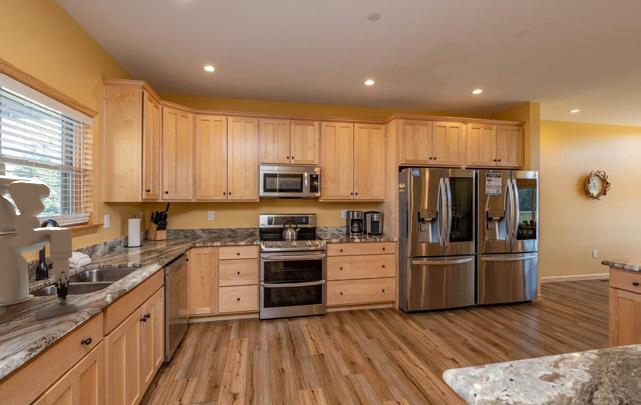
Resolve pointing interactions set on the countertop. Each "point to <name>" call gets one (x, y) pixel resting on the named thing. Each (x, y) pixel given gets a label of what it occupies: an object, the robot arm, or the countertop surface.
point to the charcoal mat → (55, 312)
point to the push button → (62, 299)
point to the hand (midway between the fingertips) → (62, 294)
